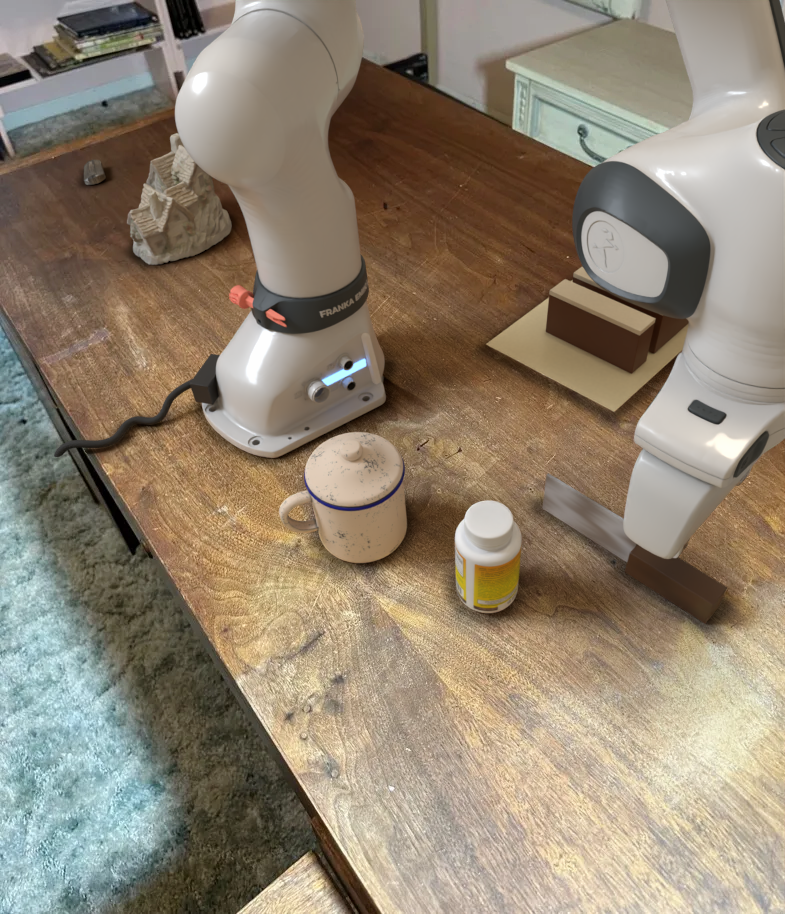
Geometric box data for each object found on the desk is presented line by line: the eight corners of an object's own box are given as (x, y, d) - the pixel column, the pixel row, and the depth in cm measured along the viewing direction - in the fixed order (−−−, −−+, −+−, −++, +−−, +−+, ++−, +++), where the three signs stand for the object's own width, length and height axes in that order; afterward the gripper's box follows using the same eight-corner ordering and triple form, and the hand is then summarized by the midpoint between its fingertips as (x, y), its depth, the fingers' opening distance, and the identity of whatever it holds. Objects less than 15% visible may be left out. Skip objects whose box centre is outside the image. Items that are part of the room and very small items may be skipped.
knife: (719, 606, 66) (734, 573, 63) (705, 624, 65) (719, 591, 62) (550, 500, 76) (555, 466, 72) (535, 514, 75) (539, 481, 71)
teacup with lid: (392, 483, 79) (384, 399, 70) (422, 550, 72) (417, 467, 64) (279, 516, 77) (256, 434, 68) (300, 588, 70) (278, 508, 62)
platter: (613, 418, 83) (614, 411, 82) (485, 350, 92) (485, 344, 92) (720, 319, 93) (722, 312, 93) (596, 267, 103) (597, 261, 102)
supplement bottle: (530, 586, 69) (538, 515, 62) (491, 627, 66) (495, 558, 59) (481, 553, 72) (483, 482, 64) (442, 592, 69) (440, 521, 62)
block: (104, 167, 133) (100, 157, 132) (107, 182, 129) (103, 172, 128) (83, 172, 133) (79, 162, 131) (85, 187, 129) (81, 176, 127)
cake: (653, 354, 88) (663, 311, 84) (568, 314, 94) (573, 272, 90) (694, 318, 92) (706, 275, 88) (609, 282, 98) (616, 240, 94)
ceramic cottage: (204, 193, 124) (175, 101, 112) (248, 238, 114) (221, 143, 103) (114, 230, 120) (74, 139, 108) (152, 281, 110) (112, 187, 99)
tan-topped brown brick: (631, 374, 86) (640, 331, 82) (545, 331, 92) (549, 290, 88) (646, 361, 87) (656, 318, 83) (560, 320, 94) (565, 278, 89)
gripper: (776, 288, 56) (731, 422, 66) (620, 439, 47) (594, 569, 57) (865, 320, 53) (803, 457, 63) (715, 489, 44) (671, 618, 54)
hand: (703, 511), depth 60 cm, fingers open, 8 cm apart
